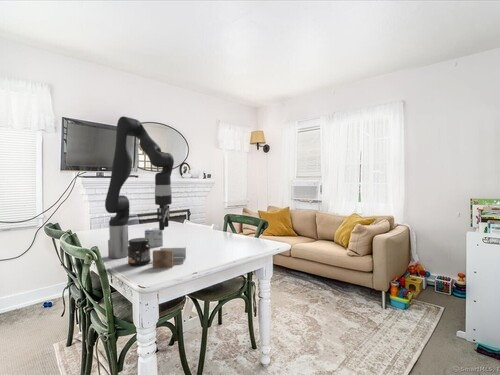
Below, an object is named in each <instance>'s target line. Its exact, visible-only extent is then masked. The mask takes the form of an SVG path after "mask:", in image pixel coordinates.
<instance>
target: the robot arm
mask: <svg viewBox="0 0 500 375" xmlns="http://www.w3.org/2000/svg"><path fill="white" fill-rule="evenodd" d="M127 137H135V138H136V139H138V140H139V146H140V148H141V149H142V151H143V153H145V154H146V155H147V157H148V159H149V161H150V164H152V166H153V167H156V168H162V169H161V171H159V172H156V174H155V175H154V184H155V185H154V204H155V205H156V206H159V207H157V208H156V209H157V210H156V216H157V218H156V221H157V222H158V228H159V230H162V231H164V230H165V228H168V227H169V224H170V223H169V219H170V217H171V214H170V205H172V204H173V203H172V198H173V197H172V185H171V182H172V180H171V177H172V171H173V168H174V164H175V160H174V156H173V155H172V154H171V153H169V152H163V151H162V149H161V147H160V145H158V144H157V142H155V140H153V138H152V137H151V136H150V135H149V133H148V132H147V130H146V129H145V126H144V124H143V123H141V121H140V120H138V119H135V118H132V117H128V116H120V117H119V119H118V120H117V124H116V136H115V149H114V154H113V155H114V156H113V159H112V160H113V161H112V166H111V173H110V174H111V175H110V179H109V185H108V188H107V193H106V197H105V202H104V208H105V211H106V212H107V213H108V214H115V215H114V217H113V218H111V219H109V221H108V228H109V230H108V232H109V234H108V235H109V239H108V240H107V251H108V252H107V254H108V256H107V257H108V258H109V259H122V258H126V257H127V258H128V246H129V242H128V241H129V220H130V205H131V204H130V200H129V198H128V197H127V196H126V195H123V194H121V195H120V193H121V189H122V187H123V185H124V184H125V183H126V181H127V180H128V178H129V177H130V175H131V173H132V167H133V158H132V155H131V154H130V151H129V149H128V145H127Z"/></svg>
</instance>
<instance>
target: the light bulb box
mask: <svg viewBox="0 0 500 375" xmlns="http://www.w3.org/2000/svg"><path fill="white" fill-rule="evenodd" d="M163 235H164V234H163V230H159V227H153V228H145V229H144V238H148V239H149V244H150V248H152V247H153V248H154V247H155V248H156V247H163V245H164V239H163V238H164V236H163Z"/></svg>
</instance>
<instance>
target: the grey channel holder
mask: <svg viewBox="0 0 500 375" xmlns="http://www.w3.org/2000/svg"><path fill="white" fill-rule="evenodd" d="M159 250H173V265H183V264H184V263H185V262H186V260H187V247H186V246H184V247H182V246H181V247H179V246H177V247H160V249H159Z"/></svg>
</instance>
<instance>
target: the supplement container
mask: <svg viewBox="0 0 500 375" xmlns="http://www.w3.org/2000/svg"><path fill="white" fill-rule="evenodd" d="M150 263H151V247H150V244H149V239H148V238H145V237H136V238H135V237H134V238H131V239H128V256H127V264H128V265H129V266H131V267H141V266H142V267H143V266H146V265H149V264H150Z"/></svg>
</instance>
